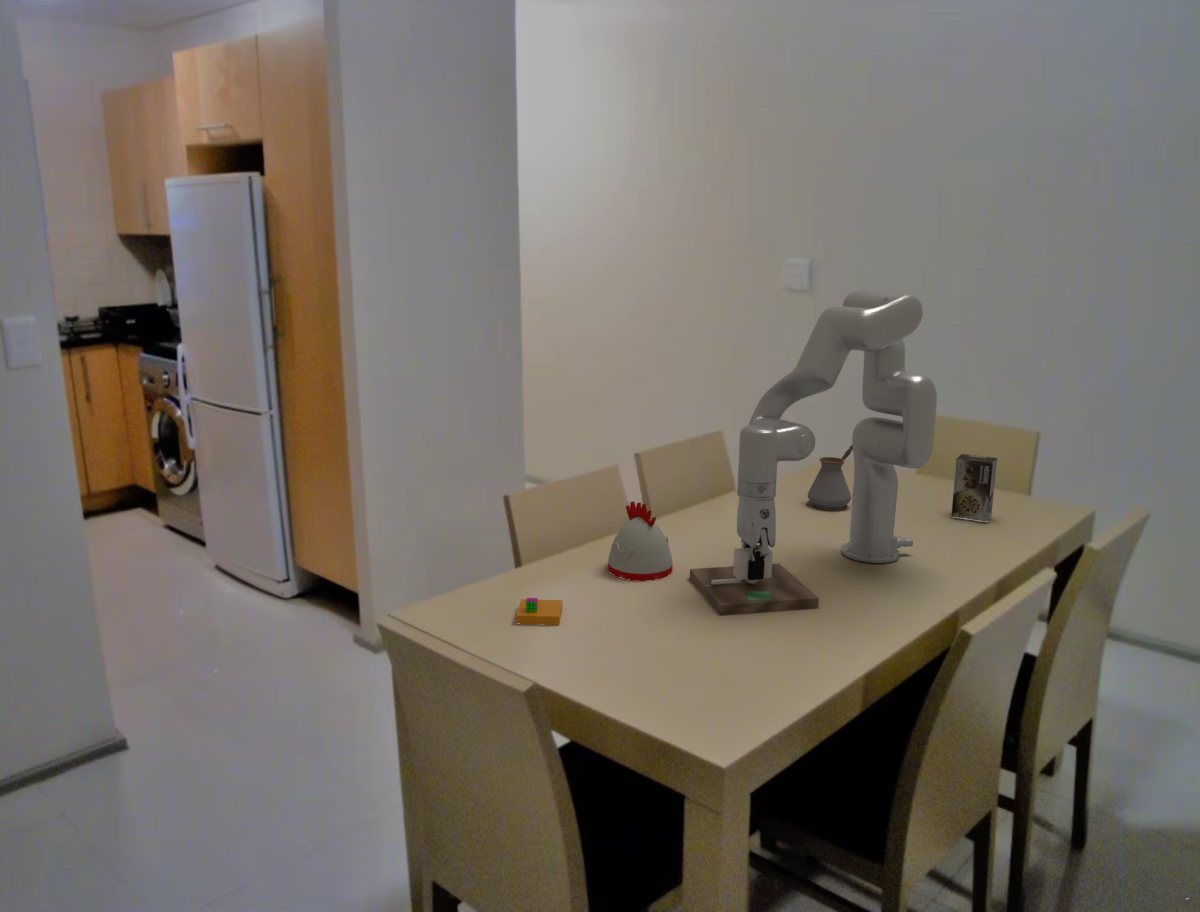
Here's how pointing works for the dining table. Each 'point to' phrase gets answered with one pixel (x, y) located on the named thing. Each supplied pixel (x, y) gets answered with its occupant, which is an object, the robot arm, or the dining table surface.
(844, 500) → the coffee pot
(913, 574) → the dining table surface
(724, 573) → the dial board
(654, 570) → the chicken figurine
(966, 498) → the coffee box
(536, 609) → the orange block with cube
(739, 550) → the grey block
